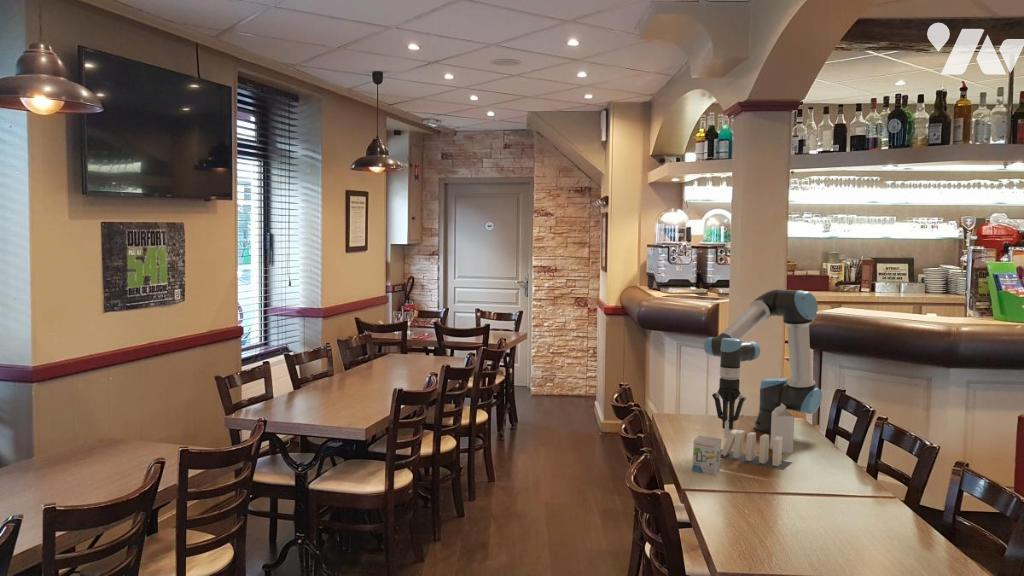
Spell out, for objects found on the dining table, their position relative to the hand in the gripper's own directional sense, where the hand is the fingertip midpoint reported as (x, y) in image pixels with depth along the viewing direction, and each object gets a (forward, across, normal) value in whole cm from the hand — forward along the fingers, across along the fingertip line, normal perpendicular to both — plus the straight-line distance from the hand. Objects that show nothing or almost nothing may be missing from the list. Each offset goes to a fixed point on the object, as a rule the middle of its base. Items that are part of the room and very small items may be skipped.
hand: (727, 437), depth 285 cm
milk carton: (+8, +15, +21) cm, 27 cm away
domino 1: (+7, +4, 0) cm, 8 cm away
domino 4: (+7, +19, 0) cm, 21 cm away
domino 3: (+7, +14, 0) cm, 16 cm away
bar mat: (+7, +9, 0) cm, 12 cm away
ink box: (+8, 0, -23) cm, 24 cm away
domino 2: (+7, +9, 0) cm, 12 cm away
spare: (+7, -1, 0) cm, 7 cm away
